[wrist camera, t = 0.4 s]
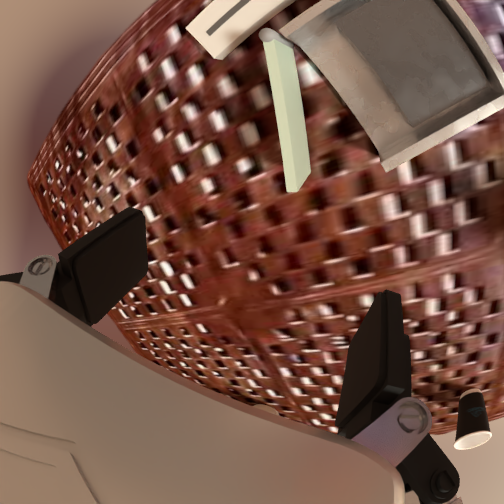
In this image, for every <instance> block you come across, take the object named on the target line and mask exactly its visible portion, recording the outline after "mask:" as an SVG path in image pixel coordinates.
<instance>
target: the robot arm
mask: <svg viewBox="0 0 504 504" xmlns="http://www.w3.org/2000/svg"><path fill="white" fill-rule="evenodd" d="M58 255H59V260H60V261H59V262H58V263H57V262H56V259H55V258H54V257H53V256H49V255H42V256H38V257H36V258H34V259H32V260H31V261H30V262H29V263H28V264H27V265H26V267H25V269H24V272H21V273H14V274H8V275H1V276H0V504H463V503H462V500H461V497H460V498H457V497H456V493H457V491H458V488H459V483H460V478H459V474H458V472H457V470H456V468H455V467H454V466H453V464H452V463H451V462H450V460H449V459H448V458H447V456H446V455H445V454H444V452H443V451H442V450H441V449H440V447H439V446H438V445H437V443H436V442H435V441H434V440H433V438H432V437H431V436H430V434H429V433H428V432H429V430H430V429H431V425H432V416H431V413H430V410H429V409H428V407H427V406H426V404H424V403H423V402H422V401H421V400H419V399H417V398H413V397H411V355H410V340H409V336H408V335H406V334H404V328H403V314H402V303H401V295H400V294H398V293H395V292H392V291H389V290H385V291H384V292H383V293H382V292H379V293H378V294H377V296H376V298H375V300H374V301H373V303H372V305H371V307H370V309H369V311H368V313H367V314H366V316H365V318H364V320H363V322H362V323H361V325H360V327H359V329H358V330H357V332H356V334H355V336H354V337H353V339H352V341H351V343H350V346H349V349H348V356H347V362H346V368H345V374H344V380H343V386H342V391H341V397H340V402H339V407H338V412H337V416H336V421H335V426H337V427H339V429H338V434H334V433H331V432H328V431H324V430H321V429H318V428H315V427H312V426H309V425H306V424H302V423H299V422H296V421H293V420H290V419H287V418H284V417H281V416H278V415H275V414H272V413H270V412H267V411H264V410H261V409H258V408H256V407H253V406H250V405H247V404H245V403H242V402H240V401H237V400H234V399H232V398H229V397H227V396H225V395H222V394H220V393H217V392H215V391H213V390H210V389H208V388H206V387H203V386H201V385H199V384H197V383H194V382H192V381H190V380H188V379H186V378H184V377H181V376H179V375H177V374H175V373H173V372H171V371H169V370H167V369H165V368H163V367H161V366H159V365H157V364H155V363H153V362H151V361H149V360H147V359H145V358H144V357H142V356H140V355H138V354H136V353H134V352H132V351H131V350H129V349H127V348H125V347H123V346H122V345H120V344H118V343H117V342H115V341H113V340H111V339H110V338H108V337H106V336H105V335H103V334H101V333H100V332H98V331H96V330H95V329H93V328H91V326H92V325H93V324H96V323H98V322H99V321H100V320H101V319H102V318H103V317H104V316H105V315H106V314H107V313H108V312H109V311H110V310H111V309H112V308H113V307H114V306H115V305H116V304H117V303H118V302H119V301H120V300H121V299H122V298H123V297H124V296H125V295H126V294H127V293H128V292H129V291H130V290H131V289H132V288H133V287H134V286H135V285H136V284H137V283H138V282H139V281H140V280H141V279H142V278H143V277H144V276H145V275H146V274H147V271H148V258H147V243H146V224H145V216H144V215H143V213H142V211H141V210H138V209H135V208H131V207H128V208H126V209H124V210H123V211H121V212H120V213H118V214H116V215H115V216H113V217H112V218H110V219H109V220H107V221H106V222H104V223H102V224H101V225H99V226H98V227H96V228H95V229H93V230H92V231H90V232H89V233H87V234H86V235H84V236H83V237H82V238H80V239H79V240H77V241H76V242H74V243H73V244H72V245H70V246H69V247H67V248H66V249H64V250H63V251H62V252H60V253H59V254H58ZM342 436H343V437H342Z"/></svg>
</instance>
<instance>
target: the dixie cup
mask: <svg viewBox="0 0 504 504" xmlns="http://www.w3.org/2000/svg"><path fill="white" fill-rule="evenodd" d="M491 436H492V434H491V432H490V428H489V422H488V417H487V412H486V407H485V403H484V398H483V394H482V393H481V390H480V389H476V388H475V389H470V390H467V391H465V392H464V393H463V394H462V395H461V396H460V401H459V410H458V422H457V431H456V439H455V443H454V448H456V449H470V448H474V447H477V446H479V445H482V444H484V443H485V442H487V441H488V440H489V439H490V438H491Z"/></svg>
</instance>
